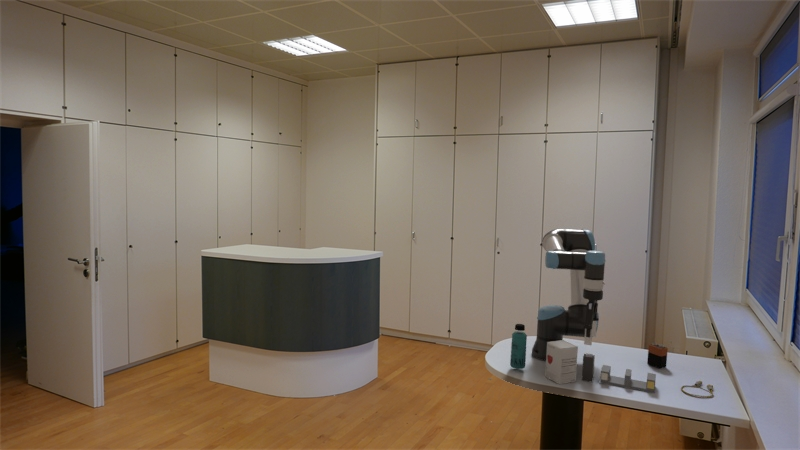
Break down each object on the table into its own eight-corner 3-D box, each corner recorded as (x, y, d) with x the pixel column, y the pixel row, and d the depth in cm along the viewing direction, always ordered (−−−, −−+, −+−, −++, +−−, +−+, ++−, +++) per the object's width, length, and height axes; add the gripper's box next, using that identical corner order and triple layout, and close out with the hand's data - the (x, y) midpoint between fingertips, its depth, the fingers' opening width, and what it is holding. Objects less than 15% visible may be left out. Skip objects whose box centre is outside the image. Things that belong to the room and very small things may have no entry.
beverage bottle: (513, 366, 231) (515, 321, 229) (527, 369, 227) (530, 324, 225) (507, 370, 226) (509, 324, 224) (521, 374, 222) (524, 327, 220)
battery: (660, 369, 232) (661, 347, 231) (646, 364, 238) (648, 342, 237) (666, 367, 234) (668, 345, 233) (653, 362, 240) (654, 341, 239)
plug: (581, 380, 217) (583, 355, 216) (583, 376, 221) (584, 352, 220) (592, 382, 215) (593, 356, 214) (593, 378, 219) (594, 354, 218)
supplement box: (544, 376, 220) (546, 341, 218) (561, 373, 224) (563, 339, 222) (559, 384, 212) (561, 348, 210) (576, 381, 215) (578, 345, 214)
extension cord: (728, 396, 206) (728, 391, 206) (697, 401, 201) (698, 395, 200) (701, 384, 217) (701, 379, 217) (671, 388, 212) (671, 383, 212)
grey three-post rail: (600, 382, 215) (600, 371, 214) (602, 376, 222) (603, 364, 221) (654, 393, 205) (655, 380, 205) (655, 386, 213) (655, 374, 212)
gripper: (599, 295, 201) (596, 350, 203) (606, 285, 224) (603, 334, 226) (578, 293, 205) (575, 346, 207) (587, 283, 227) (584, 331, 229)
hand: (590, 340), depth 216 cm, fingers open, 13 cm apart
